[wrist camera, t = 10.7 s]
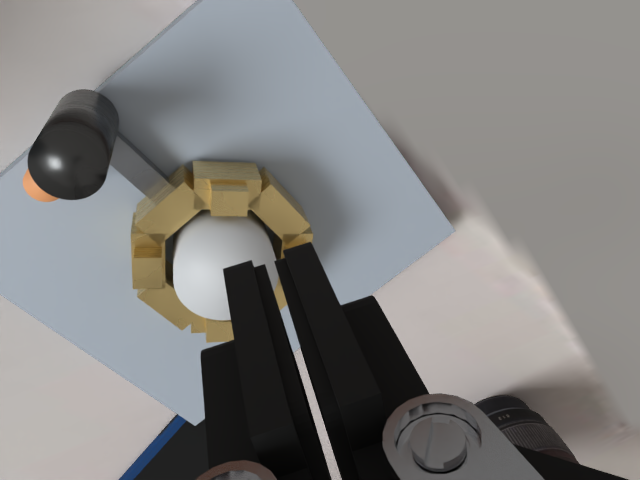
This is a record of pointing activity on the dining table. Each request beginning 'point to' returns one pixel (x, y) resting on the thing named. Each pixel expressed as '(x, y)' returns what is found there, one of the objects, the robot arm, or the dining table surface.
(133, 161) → the segmented octagonal ring
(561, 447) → the camera lens
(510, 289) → the dining table surface
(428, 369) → the dining table surface
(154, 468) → the cell phone
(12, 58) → the dining table surface
